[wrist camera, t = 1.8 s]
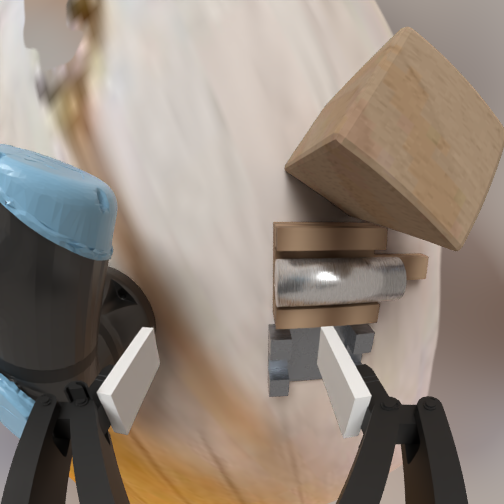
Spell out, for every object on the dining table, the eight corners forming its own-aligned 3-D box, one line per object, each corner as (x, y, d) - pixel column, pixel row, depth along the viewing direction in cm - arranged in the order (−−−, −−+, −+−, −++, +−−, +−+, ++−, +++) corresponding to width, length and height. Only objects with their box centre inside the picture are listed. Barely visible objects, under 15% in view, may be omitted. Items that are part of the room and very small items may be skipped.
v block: (267, 378, 37) (269, 396, 33) (268, 324, 35) (270, 340, 31) (354, 371, 37) (362, 387, 33) (363, 319, 35) (374, 332, 31)
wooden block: (350, 217, 32) (460, 256, 13) (282, 169, 31) (331, 139, 11) (390, 153, 30) (510, 133, 11) (326, 104, 29) (407, 21, 10)
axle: (274, 292, 32) (277, 316, 28) (275, 252, 31) (279, 270, 26) (383, 288, 32) (400, 307, 28) (390, 250, 31) (409, 266, 26)
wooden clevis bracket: (272, 310, 35) (276, 329, 30) (273, 222, 32) (277, 228, 27) (413, 301, 35) (431, 315, 30) (423, 224, 32) (444, 230, 27)
